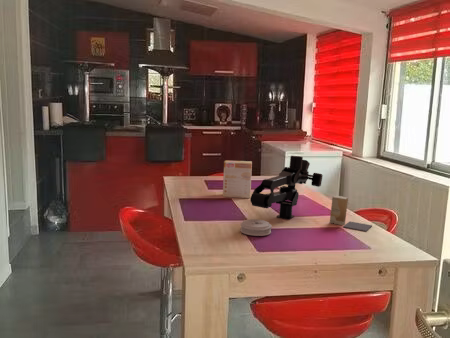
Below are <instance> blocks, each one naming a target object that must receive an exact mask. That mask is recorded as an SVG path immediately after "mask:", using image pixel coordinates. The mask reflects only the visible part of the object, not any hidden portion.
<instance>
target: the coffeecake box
mask: <svg viewBox="0 0 450 338" xmlns="http://www.w3.org/2000/svg"><path fill="white" fill-rule="evenodd" d="M252 167H253V161H251V160H250V161H248V160H247V161H246V160H228V159H227V160H224V161H223V182H222V197H223V198H238V199H239V198H240V199H242V198H243V199H251V189H252V171H253V170H252V169H253V168H252Z"/></svg>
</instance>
